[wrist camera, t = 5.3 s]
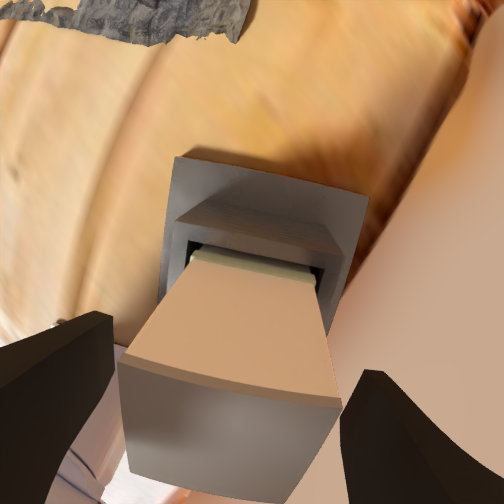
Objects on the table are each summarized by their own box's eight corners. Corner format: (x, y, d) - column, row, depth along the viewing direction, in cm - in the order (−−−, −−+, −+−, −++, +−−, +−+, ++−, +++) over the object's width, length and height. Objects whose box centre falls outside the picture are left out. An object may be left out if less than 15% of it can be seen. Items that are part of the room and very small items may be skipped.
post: (284, 342, 15) (285, 505, 7) (194, 323, 15) (128, 472, 7) (309, 257, 13) (346, 406, 5) (206, 235, 13) (113, 358, 5)
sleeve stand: (316, 351, 19) (327, 419, 14) (161, 318, 19) (124, 376, 14) (364, 194, 16) (406, 218, 10) (180, 156, 16) (132, 160, 11)
